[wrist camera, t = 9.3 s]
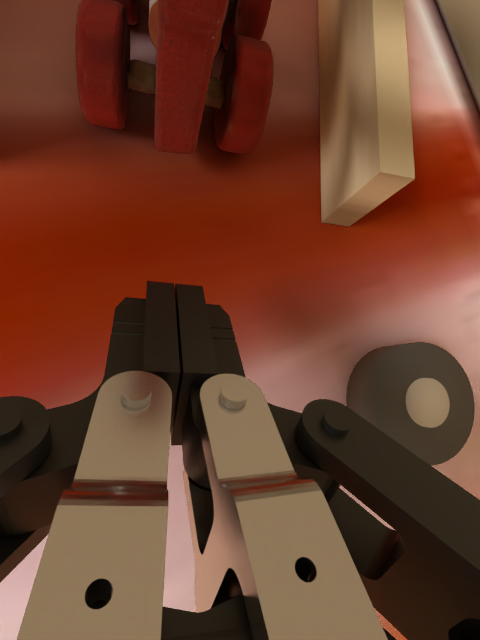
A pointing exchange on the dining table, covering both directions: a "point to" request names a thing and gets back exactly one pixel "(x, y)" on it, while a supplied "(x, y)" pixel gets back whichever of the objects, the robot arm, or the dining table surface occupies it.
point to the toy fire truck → (178, 68)
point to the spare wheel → (415, 398)
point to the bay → (363, 106)
